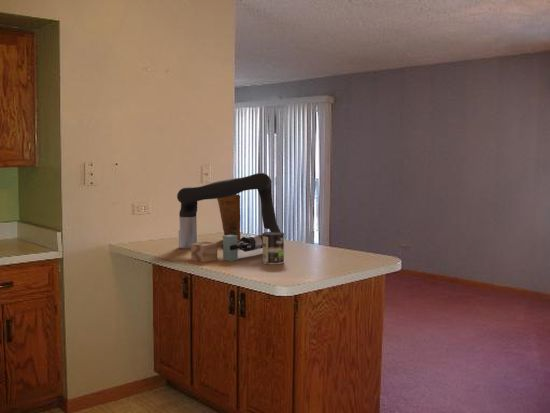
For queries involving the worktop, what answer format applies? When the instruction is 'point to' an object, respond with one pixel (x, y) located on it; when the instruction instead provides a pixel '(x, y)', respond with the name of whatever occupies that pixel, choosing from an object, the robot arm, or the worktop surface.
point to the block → (204, 251)
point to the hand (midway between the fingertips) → (226, 247)
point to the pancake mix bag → (230, 215)
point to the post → (227, 253)
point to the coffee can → (273, 248)
